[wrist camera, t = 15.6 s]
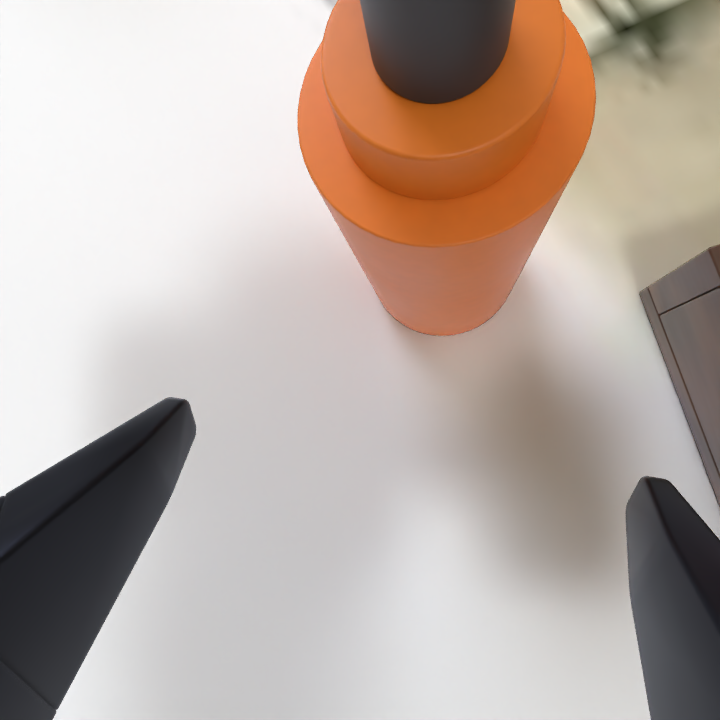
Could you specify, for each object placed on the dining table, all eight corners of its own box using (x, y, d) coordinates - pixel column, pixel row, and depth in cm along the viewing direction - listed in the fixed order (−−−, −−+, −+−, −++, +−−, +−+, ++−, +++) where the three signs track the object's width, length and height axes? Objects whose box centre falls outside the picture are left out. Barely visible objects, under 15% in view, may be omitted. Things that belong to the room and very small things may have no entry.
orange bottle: (547, 266, 18) (834, -153, 5) (438, 365, 18) (421, 232, 5) (446, 170, 19) (448, -403, 6) (344, 265, 19) (118, -71, 6)
